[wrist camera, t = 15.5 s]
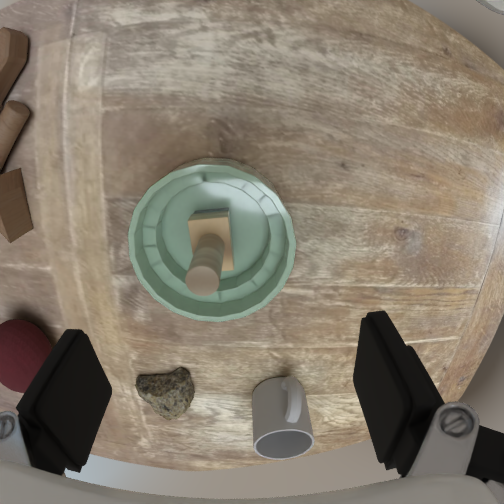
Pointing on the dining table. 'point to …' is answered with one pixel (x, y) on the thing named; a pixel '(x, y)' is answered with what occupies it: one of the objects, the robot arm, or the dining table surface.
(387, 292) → the dining table surface
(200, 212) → the wooden stamp
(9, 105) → the wooden block set
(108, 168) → the dining table surface
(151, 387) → the rock
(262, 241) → the bowl
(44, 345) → the decorative ball
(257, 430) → the cup
